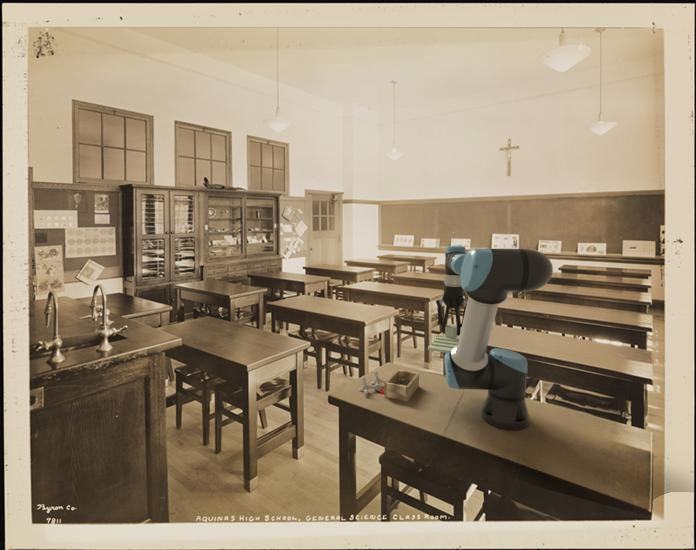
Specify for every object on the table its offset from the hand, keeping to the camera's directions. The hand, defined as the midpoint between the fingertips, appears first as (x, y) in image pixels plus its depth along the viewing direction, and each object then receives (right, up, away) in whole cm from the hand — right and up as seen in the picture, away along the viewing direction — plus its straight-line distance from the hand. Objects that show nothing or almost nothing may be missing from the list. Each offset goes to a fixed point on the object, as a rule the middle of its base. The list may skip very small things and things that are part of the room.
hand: (450, 342), depth 164 cm
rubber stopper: (-20, -17, -3) cm, 26 cm away
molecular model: (-31, -19, -6) cm, 37 cm away
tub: (-21, -18, -7) cm, 28 cm away
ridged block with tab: (-3, +1, -7) cm, 8 cm away
